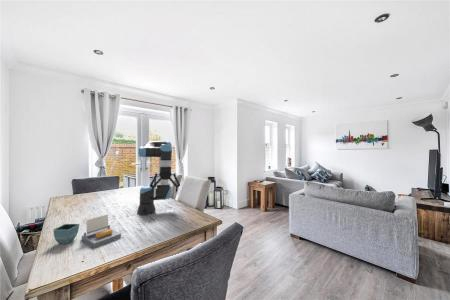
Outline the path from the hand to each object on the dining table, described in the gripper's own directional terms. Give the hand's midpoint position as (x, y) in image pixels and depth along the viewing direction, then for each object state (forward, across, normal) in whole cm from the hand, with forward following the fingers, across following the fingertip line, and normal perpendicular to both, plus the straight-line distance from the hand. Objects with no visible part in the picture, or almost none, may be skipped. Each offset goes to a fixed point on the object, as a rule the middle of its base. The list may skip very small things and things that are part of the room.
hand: (164, 196), depth 128 cm
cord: (+21, -34, -8) cm, 41 cm away
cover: (+15, -40, -2) cm, 43 cm away
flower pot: (+24, -55, -6) cm, 60 cm away
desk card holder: (+23, -37, -6) cm, 44 cm away
